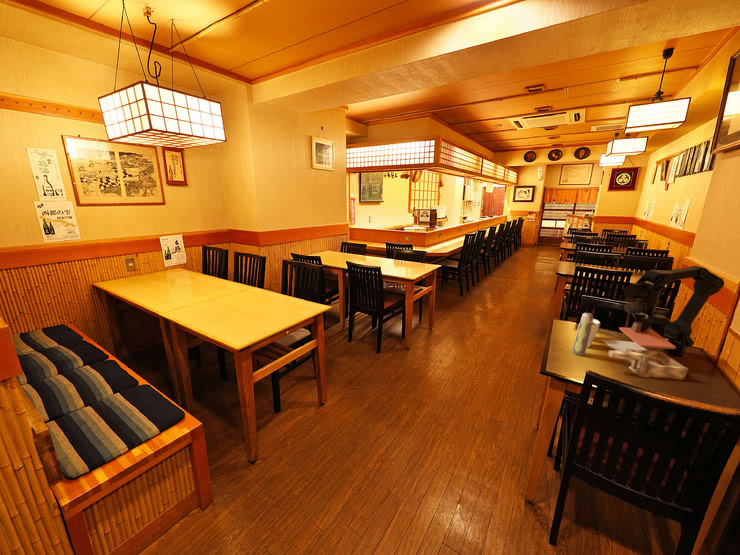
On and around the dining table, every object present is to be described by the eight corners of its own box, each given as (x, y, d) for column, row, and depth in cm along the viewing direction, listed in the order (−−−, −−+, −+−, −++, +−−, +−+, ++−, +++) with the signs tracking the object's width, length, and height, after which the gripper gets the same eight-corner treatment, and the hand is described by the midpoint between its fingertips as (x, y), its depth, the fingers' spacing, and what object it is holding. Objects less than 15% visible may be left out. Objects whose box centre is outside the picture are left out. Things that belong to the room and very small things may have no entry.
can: (587, 342, 152) (593, 320, 149) (592, 348, 146) (598, 326, 143) (572, 340, 154) (578, 318, 151) (576, 346, 148) (582, 323, 145)
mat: (634, 342, 154) (635, 342, 154) (660, 359, 139) (660, 358, 139) (601, 340, 156) (601, 339, 156) (622, 356, 141) (623, 355, 140)
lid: (650, 330, 143) (654, 321, 141) (675, 349, 130) (680, 339, 128) (619, 329, 144) (622, 319, 142) (640, 347, 131) (645, 337, 129)
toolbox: (656, 361, 137) (662, 343, 135) (685, 380, 123) (692, 361, 121) (616, 357, 139) (621, 340, 137) (639, 376, 125) (646, 357, 123)
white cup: (598, 342, 154) (603, 324, 151) (583, 341, 154) (587, 323, 151) (588, 335, 161) (592, 317, 158) (573, 334, 161) (577, 316, 159)
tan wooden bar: (640, 357, 127) (642, 352, 127) (645, 360, 125) (646, 355, 124) (607, 354, 128) (609, 350, 128) (611, 357, 126) (612, 353, 126)
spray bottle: (575, 349, 145) (585, 310, 139) (586, 354, 141) (597, 314, 135) (570, 352, 142) (579, 312, 137) (581, 357, 138) (592, 316, 133)
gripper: (615, 291, 146) (608, 321, 150) (647, 305, 128) (637, 338, 132) (640, 292, 145) (631, 322, 150) (675, 306, 127) (664, 340, 132)
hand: (639, 330), depth 141 cm, fingers closed on lid, 3 cm apart
